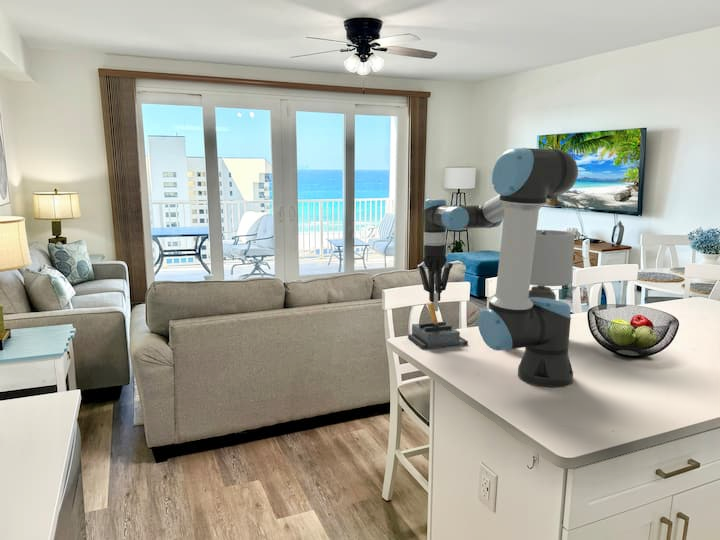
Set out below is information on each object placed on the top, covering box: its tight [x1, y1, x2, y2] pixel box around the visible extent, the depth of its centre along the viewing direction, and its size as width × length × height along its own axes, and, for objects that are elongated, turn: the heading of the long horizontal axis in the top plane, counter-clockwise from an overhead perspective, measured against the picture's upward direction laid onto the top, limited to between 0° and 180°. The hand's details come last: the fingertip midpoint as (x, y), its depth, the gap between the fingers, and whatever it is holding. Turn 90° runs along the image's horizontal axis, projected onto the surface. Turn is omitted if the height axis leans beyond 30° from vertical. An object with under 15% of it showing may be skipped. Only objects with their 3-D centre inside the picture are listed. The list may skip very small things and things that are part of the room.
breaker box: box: [411, 321, 461, 350], centre depth 186 cm, size 14×12×6 cm
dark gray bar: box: [407, 333, 427, 350], centre depth 184 cm, size 13×1×1 cm, turn 17°
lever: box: [426, 301, 439, 326], centre depth 184 cm, size 3×1×9 cm, turn 17°
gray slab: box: [458, 336, 469, 347], centre depth 188 cm, size 14×3×1 cm, turn 17°
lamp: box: [528, 229, 576, 300], centre depth 190 cm, size 20×20×39 cm
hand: (434, 310), depth 184 cm, fingers closed
